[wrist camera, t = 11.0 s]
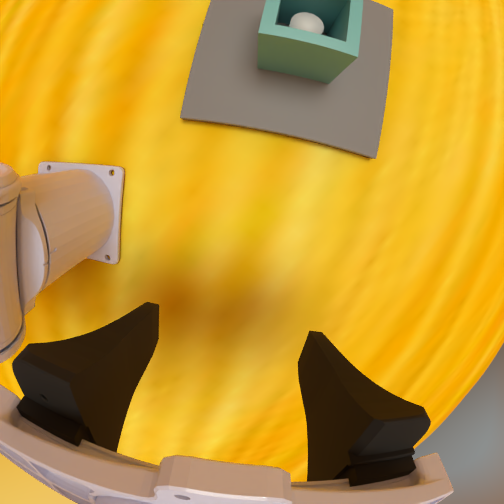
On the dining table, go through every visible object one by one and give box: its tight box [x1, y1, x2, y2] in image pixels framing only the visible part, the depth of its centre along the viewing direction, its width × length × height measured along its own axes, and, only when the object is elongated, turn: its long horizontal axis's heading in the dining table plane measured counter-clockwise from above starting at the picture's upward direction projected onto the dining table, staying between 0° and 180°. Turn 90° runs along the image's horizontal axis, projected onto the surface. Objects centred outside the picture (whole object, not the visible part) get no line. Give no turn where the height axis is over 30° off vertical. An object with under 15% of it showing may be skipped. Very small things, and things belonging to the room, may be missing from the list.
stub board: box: [180, 0, 393, 159], centre depth 14 cm, size 14×14×4 cm
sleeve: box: [257, 0, 363, 84], centre depth 12 cm, size 5×5×6 cm
